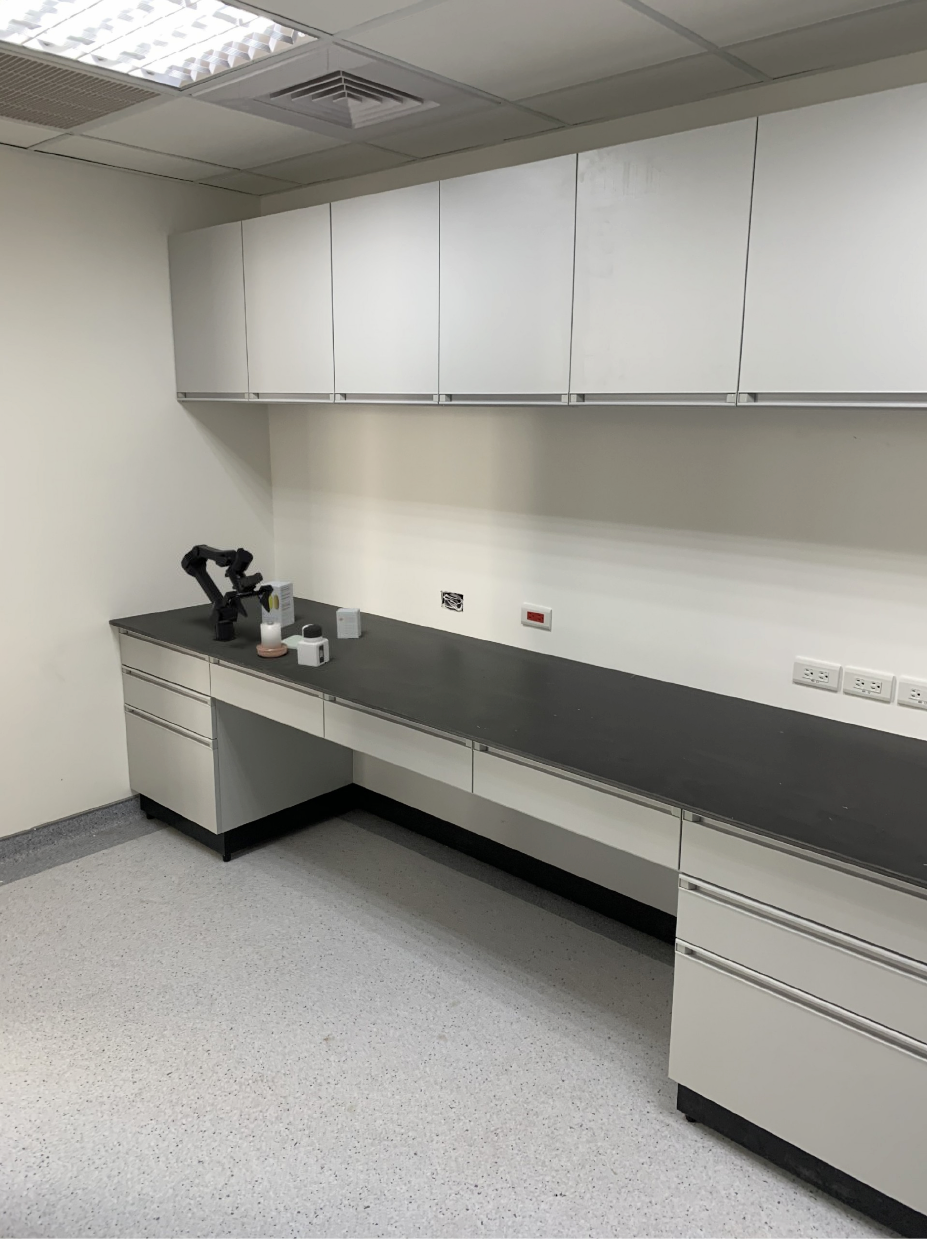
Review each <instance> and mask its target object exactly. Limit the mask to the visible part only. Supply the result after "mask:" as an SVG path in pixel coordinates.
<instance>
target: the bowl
mask: <svg viewBox="0 0 927 1239" xmlns="http://www.w3.org/2000/svg"><path fill="white" fill-rule="evenodd" d="M256 650H257V655H259V656H261V657H264V658H277V657H282V656H283V655H284V654H285V655H286V653H287V651H288V648H287V644H285V643H282V646H281V647H279V648H275V649H265V648H262V643H260V644H258V645H257V646H256Z"/></svg>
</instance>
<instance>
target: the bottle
mask: <svg viewBox="0 0 927 1239" xmlns="http://www.w3.org/2000/svg"><path fill="white" fill-rule="evenodd" d="M260 637H261V644H262V648H265V649H275V648H279V647H281V646H282V628H281V625H280V623H279V622H274V621H267V622H266V623H263V622H262V623H260Z"/></svg>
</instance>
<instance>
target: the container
mask: <svg viewBox="0 0 927 1239" xmlns="http://www.w3.org/2000/svg"><path fill="white" fill-rule="evenodd" d="M301 630H302V632H301V633H302V636H303V639H304V640H302V641H300V642H298V643H297V649H296V651H297V664H298V665H301V666H309V667H314V668H315V667H316V668H317V667H319V666H321V665H324V664H325V662H326V663H327V662H329V661H330V650H329V649H330V648H329V639H327V638H326V639H322V638H323V627H322V626H321V625H320V624H315V623H313V624H311V623H310V624H306V625H304V626H302V628H301Z"/></svg>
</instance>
